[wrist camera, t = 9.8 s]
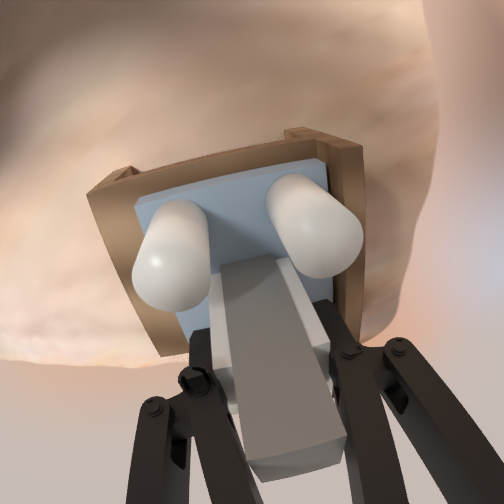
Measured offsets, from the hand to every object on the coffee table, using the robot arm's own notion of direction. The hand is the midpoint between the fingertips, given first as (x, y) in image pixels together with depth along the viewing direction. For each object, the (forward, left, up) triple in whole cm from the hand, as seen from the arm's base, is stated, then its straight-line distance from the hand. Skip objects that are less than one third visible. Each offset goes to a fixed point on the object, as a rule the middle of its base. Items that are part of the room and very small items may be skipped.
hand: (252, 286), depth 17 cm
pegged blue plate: (0, 0, -2) cm, 2 cm away
